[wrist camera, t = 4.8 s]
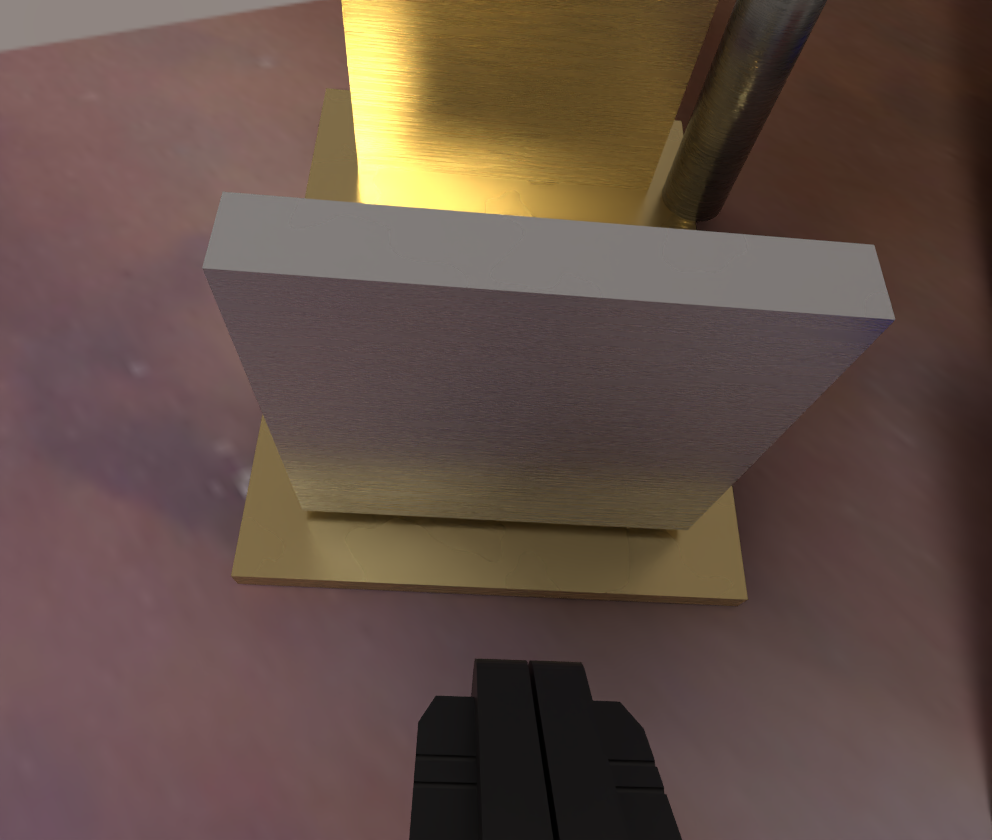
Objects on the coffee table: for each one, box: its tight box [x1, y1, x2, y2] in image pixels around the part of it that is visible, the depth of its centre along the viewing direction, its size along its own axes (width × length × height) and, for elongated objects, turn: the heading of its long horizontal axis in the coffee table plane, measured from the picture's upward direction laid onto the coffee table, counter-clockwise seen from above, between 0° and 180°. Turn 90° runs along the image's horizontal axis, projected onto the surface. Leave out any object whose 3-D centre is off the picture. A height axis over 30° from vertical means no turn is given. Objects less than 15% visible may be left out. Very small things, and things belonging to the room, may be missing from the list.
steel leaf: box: [202, 192, 895, 530], centre depth 13 cm, size 8×1×8 cm, turn 89°
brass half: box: [231, 0, 827, 606], centre depth 15 cm, size 12×15×10 cm
